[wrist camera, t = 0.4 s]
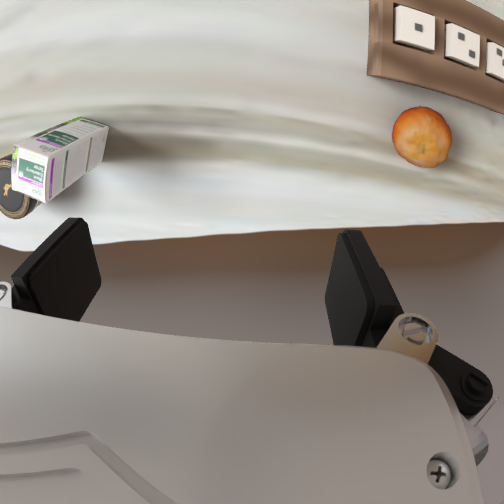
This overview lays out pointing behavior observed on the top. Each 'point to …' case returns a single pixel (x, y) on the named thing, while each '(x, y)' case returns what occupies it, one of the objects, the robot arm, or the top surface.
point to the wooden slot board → (436, 51)
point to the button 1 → (414, 28)
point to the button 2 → (461, 45)
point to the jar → (13, 193)
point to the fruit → (422, 137)
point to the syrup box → (57, 158)
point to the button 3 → (495, 60)
